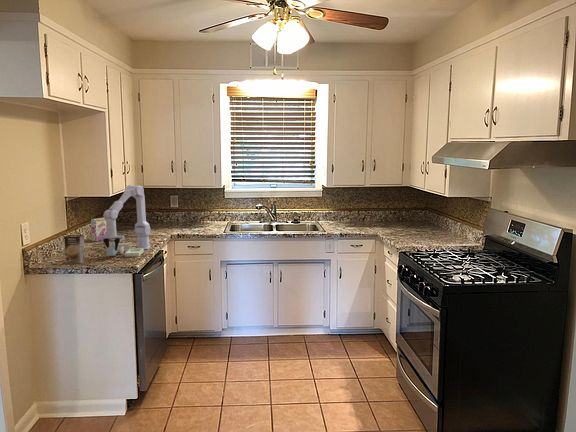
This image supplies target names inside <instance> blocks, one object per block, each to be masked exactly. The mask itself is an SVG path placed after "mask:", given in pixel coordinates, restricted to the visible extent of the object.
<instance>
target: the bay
mask: <svg viewBox="0 0 576 432" xmlns="http://www.w3.org/2000/svg"><path fill="white" fill-rule="evenodd" d="M114 245H115V243H114ZM109 246H110V243H109ZM130 248H131V244H130V242H129V243H126V242H125V243H122V242H121V243H120V242H119V244H118V248H117V250H118V252H117V253H119V254H120V255H121V254H124V253H125V252H127V251H128V250H129V249H130ZM124 251H125V252H124Z"/></svg>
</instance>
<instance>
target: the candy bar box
mask: <svg viewBox="0 0 576 432" xmlns="http://www.w3.org/2000/svg"><path fill="white" fill-rule="evenodd" d="M90 228H91V233H90V234H91V242H101V241H102V242H103V240H104V239H100V240H99V236H107V231H106V221H105V218H104V217H100V218H99V217H98V218H91V219H90Z"/></svg>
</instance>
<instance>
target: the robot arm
mask: <svg viewBox="0 0 576 432" xmlns="http://www.w3.org/2000/svg"><path fill="white" fill-rule="evenodd" d="M130 197H133V198H134V199H135V201H136V215H137V220H136V221H137V222H136V223H135V224H134V234H135V235H136V236H137V248H144V250H149V249H150V248H151V247H152V246H151V245H150V237H149V236H150V234H151V232H152V228H151V227H150V226H151V225H150V224H151V223H149V222H147V218H146V217H147V216H146V215H147V213H146V199H145V198H146V197H145V191H144V187H142V186H141V185H131V184H129V185H126V187H125V188H124V192H123V193H122V195H121V196H120V198H119V199H118V200H115V201H114V202H113V203H112V205H110V207H109V208H108V209H106V210H105V211H104V212H103V215H102V217H103V218H105V221H106V231H107V236H99V240H100V239H104V240H102V242H103V243H104V244H105V247H106V248H108V247H109V244H110V241H111V240H113V243H114V244H115V251H117V248H118V244H119V243H120V241H121V240H124V239H125V235H118V233H117V218H118V216H119V212H120V211H121V210H122V208H123V207H124V203H126V202H127V200H128V199H129V198H130Z"/></svg>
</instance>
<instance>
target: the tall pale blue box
mask: <svg viewBox="0 0 576 432" xmlns="http://www.w3.org/2000/svg"><path fill="white" fill-rule="evenodd" d="M109 244H110V246H109V247H108V248H107V247H106V248H105V252H106V257H107V256H109V257H112V256H116V254H117V253H119V252H118V250H117V251H115V245H114V244H115V242H114V240H113V241H112V240H110V241H109Z"/></svg>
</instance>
